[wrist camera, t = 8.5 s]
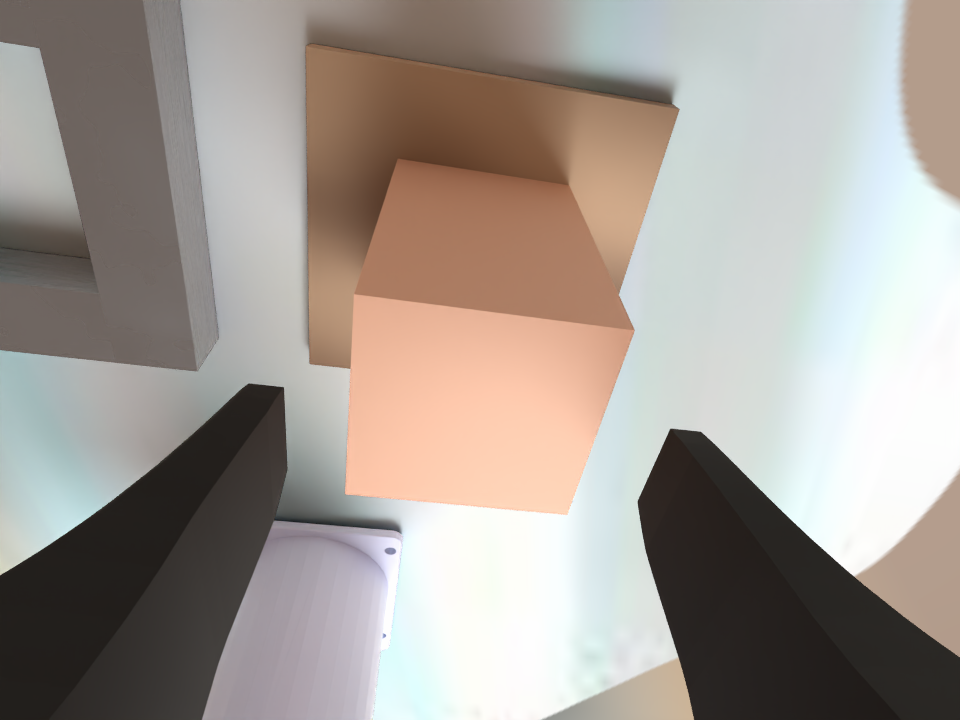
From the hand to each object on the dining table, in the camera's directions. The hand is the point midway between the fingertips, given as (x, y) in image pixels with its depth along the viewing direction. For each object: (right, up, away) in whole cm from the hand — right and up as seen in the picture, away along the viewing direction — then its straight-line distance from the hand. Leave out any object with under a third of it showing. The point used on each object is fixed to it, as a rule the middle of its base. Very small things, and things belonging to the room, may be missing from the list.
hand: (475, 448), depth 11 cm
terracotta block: (0, +5, +7) cm, 9 cm away
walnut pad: (0, +5, +8) cm, 9 cm away
